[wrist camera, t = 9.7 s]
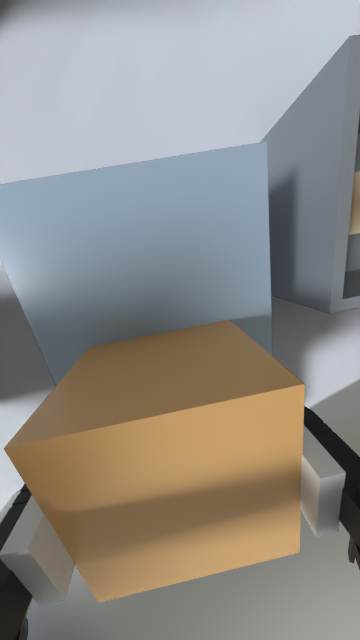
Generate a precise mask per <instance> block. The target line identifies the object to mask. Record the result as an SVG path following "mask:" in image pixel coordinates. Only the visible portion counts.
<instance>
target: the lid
mask: <svg viewBox="0 0 360 640" xmlns="http://www.w3.org/2000/svg"><path fill="white" fill-rule="evenodd" d="M0 260H1V262H2V264H3V267H4V269H5V271H6V273H7V276H8V278H9V280H10V282H11V285H12V287H13V289H14V291H15V294H16V296H17V298H18V301H19V303H20V305H21V307H22V310H23V312H24V314H25V316H26V319H27V321H28V323H29V326H30V328H31V330H32V332H33V335H34V337H35V339H36V341H37V344H38V346H39V348H40V350H41V353H42V355H43V357H44V360H45V362H46V364H47V366H48V369H49V371H50V373H51V375H52V378H53V380H54V382H55V385H56V387H55V388H54V389H53V391H52V392H51V393H50V394H49V395H48V397H47V398H46V399H45V400H44V401H43V402H42V404H41V405H40V406H39V407H38V408H37V410H36V411H35V412H34V413H33V414H32V416H31V417H30V418H29V419H28V420H27V421H26V423H25V424H24V425H23V426H22V427H21V429H20V430H19V431H18V432H17V433H16V435H15V436H14V437H13V438H12V439H11V440H10V442H9V443H8V444H7V445H6V446H5V448H4V450H5V451H6V453H7V455H8V456H9V458H10V460H11V461H12V463H13V464H14V466H15V468H16V469H17V471H18V473H19V474H20V476H21V477H22V479H23V481H24V482H25V484H26V486H27V487H28V489H29V490H30V492H31V494H32V495H33V497H34V499H35V500H36V502H37V504H38V505H39V507H40V508H41V510H42V512H43V513H44V514H45V516H46V517H47V519H48V520H49V522H50V524H51V525H52V527H53V529H54V530H55V532H56V533H57V535H58V537H59V538H60V540H61V542H62V543H63V545H64V546H65V548H66V550H67V551H68V553H69V555H70V556H71V558H72V559H73V561H74V563H75V565H76V567H77V569H78V570H79V572H80V574H81V575H82V577H83V578H84V580H85V582H86V583H87V585H88V587H89V588H90V590H91V592H92V593H93V595H94V596H95V598H96V600H97V601H98V603H100V602H104V601H108V600H112V599H116V598H120V597H124V596H127V595H131V594H136V593H140V592H144V591H147V590H151V589H155V588H159V587H163V586H167V585H171V584H175V583H179V582H183V581H187V580H191V579H195V578H199V577H203V576H207V575H211V574H215V573H219V572H223V571H227V570H231V569H235V568H239V567H243V566H247V565H251V564H255V563H259V562H263V561H267V560H271V559H275V558H279V557H283V556H287V555H291V554H295V553H299V549H300V518H301V510H300V499H301V462H302V454H303V426H304V396H305V384H304V383H303V382H302V381H301V380H300V379H298V378H297V377H296V376H295V375H294V374H293V373H291V372H290V371H289V370H288V369H287V368H285V367H284V366H283V365H282V364H281V363H280V362H278V361H277V360H276V359H275V358H274V357H273V349H272V312H271V275H270V238H269V201H268V164H267V142H260V143H254V144H248V145H242V146H235V147H229V148H223V149H217V150H210V151H204V152H198V153H192V154H186V155H179V156H173V157H167V158H161V159H154V160H148V161H142V162H136V163H129V164H123V165H117V166H111V167H104V168H98V169H92V170H86V171H80V172H73V173H67V174H61V175H55V176H48V177H42V178H36V179H30V180H23V181H17V182H11V183H5V184H0Z"/></svg>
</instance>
